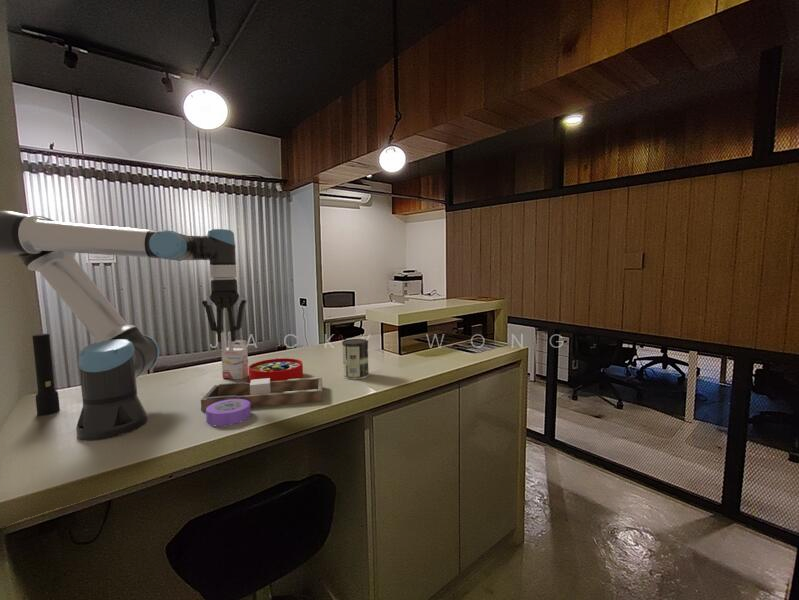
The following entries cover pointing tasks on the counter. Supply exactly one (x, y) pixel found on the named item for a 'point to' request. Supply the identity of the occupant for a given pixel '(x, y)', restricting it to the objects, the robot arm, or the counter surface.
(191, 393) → the counter surface
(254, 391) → the white cube
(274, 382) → the wooden tray
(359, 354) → the coffee can
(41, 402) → the flashlight
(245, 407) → the masking tape
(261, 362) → the toy clock
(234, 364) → the ink cartridge box
